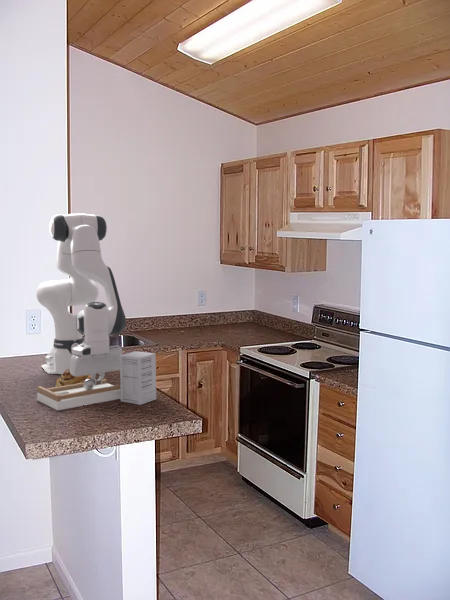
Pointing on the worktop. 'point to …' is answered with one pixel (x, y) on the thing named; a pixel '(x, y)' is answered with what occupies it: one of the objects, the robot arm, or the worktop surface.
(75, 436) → the worktop surface
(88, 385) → the ball
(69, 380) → the pastry
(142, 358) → the supplement box
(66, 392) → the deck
